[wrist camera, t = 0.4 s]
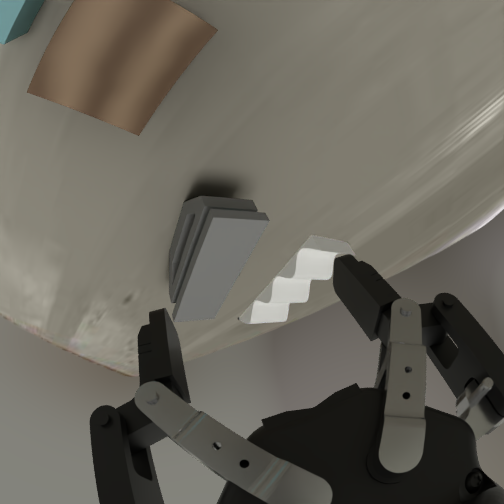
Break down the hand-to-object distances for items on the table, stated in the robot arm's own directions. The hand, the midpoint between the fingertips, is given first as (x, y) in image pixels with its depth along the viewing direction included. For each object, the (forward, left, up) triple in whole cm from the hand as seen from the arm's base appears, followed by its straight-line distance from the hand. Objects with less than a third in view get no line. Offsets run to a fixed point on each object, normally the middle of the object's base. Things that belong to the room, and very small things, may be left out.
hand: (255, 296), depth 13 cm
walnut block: (-8, +1, -30) cm, 31 cm away
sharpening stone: (+18, -20, -30) cm, 40 cm away
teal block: (-22, +1, -30) cm, 37 cm away
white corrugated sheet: (+52, -28, -30) cm, 66 cm away
